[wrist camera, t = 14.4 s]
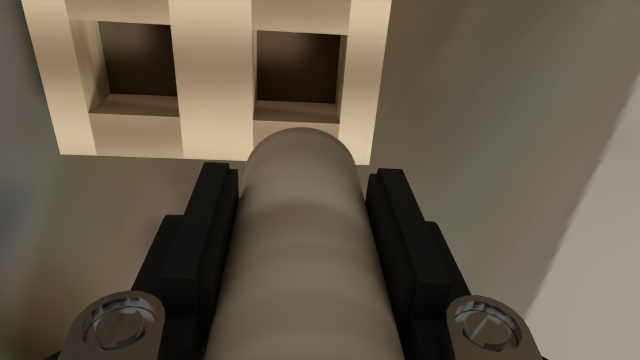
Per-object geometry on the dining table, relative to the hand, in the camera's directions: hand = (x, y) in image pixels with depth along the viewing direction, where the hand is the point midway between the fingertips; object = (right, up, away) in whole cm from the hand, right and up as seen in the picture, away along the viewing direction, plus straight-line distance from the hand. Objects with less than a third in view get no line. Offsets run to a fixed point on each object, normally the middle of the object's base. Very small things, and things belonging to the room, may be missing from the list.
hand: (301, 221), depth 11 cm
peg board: (-5, +8, +13) cm, 15 cm away
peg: (0, +1, +2) cm, 2 cm away
